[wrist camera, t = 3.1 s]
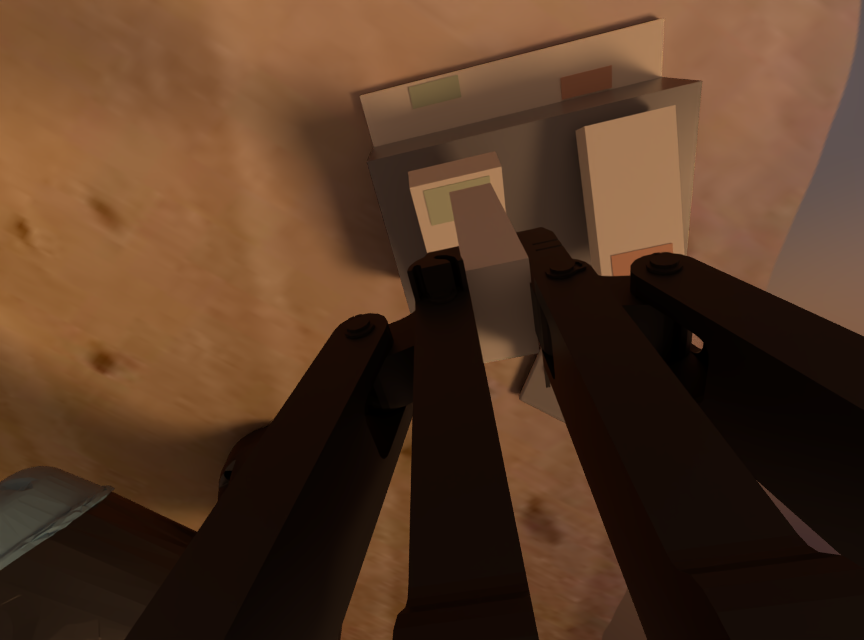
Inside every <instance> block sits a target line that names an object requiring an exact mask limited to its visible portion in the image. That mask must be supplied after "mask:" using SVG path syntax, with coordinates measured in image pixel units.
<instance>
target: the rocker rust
mask: <svg viewBox="0 0 864 640" xmlns="http://www.w3.org/2000/svg"><path fill="white" fill-rule="evenodd" d="M575 132H576V140H577V148H578V157H579V165H580V173H581V181H582V190H583V198H584V206H585V215H586V223H587V231H588V240H589V248H590V256H591V265H592V268H593V269H594V270H595V272H596V273H597V274H598V275H600V276H628V275H630V265H631V264H632V263H633V262H634V261H635V260H636V259H638V258H640V257H642V256H645V255H650V254H653V253H657V252H660V253H662V252H670V253H676V254H682V255H685V254H684V237H683V220H682V204H681V187H680V171H679V154H678V137H677V121H676V105H673V106H669V107H664V108H660V109H656V110H652V111H647V112H643V113H639V114H635V115H631V116H626V117H622V118H618V119H614V120H610V121H605V122H601V123H597V124H593V125H588V126H584V127H582V128H580V129H578V130H576V131H575Z"/></svg>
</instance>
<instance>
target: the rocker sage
mask: <svg viewBox="0 0 864 640" xmlns="http://www.w3.org/2000/svg"><path fill="white" fill-rule="evenodd" d="M408 176H409V187H410V191H411V195H412V199H413V203H414V206H415V210H416V214H417V217H418V221H419V225H420V228H421V232H422V236H423V240H424V243H425V247H426V251H427V253H429V252H433V251H438V250H443V249H447V248H452V247H457V246H459V244H458V238H457V233H456V227H455V222H454V216H453V211H452V206H451V200H450V195H449V192H452V191H456V190H461V189H465V188H469V187H474V186H478V185H483V184H487V183H491V185H492V187H493V189H494V191H495V193H496V195H497V197H498V199H499V200H500V202H501V204H502V206H503V208H504V210H505V212H506V208H505V198H504V187H503V177H502V167H501V164H500V162H499V159H498V157H497V154H496V152H495V151H494V152H489V153H485V154H481V155H477V156H472V157H468V158H464V159H460V160H456V161H451V162H447V163H443V164H439V165H434V166H430V167H426V168H422V169H417V170H413V171H409V172H408Z"/></svg>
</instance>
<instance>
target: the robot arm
mask: <svg viewBox="0 0 864 640" xmlns="http://www.w3.org/2000/svg"><path fill="white" fill-rule="evenodd" d="M449 195H450V200H451V206H452V211H453V216H454V222H455V227H456V233H457V238H458V244H459V246H457V247H452V248H447V249H443V250H438V251H433V252H429V253H427V254H426V256H425V257H423V258H421V259H419V260H417V261H415V262H414V263H413V264H412V265H410V266H409V268H408V270H407V274H408V277H409V281H410V285H411V288H412V292H413V295H414V299H415V311H414V312H413V313H411V314H410V315H408V316H407V317H405V318H403V319H401V320H398V321H396V322H393V323H391V324H388V322H387V320H386V318H385V317H384V316H382V315H380V314H373V313H368V314H363V315H362V314H360V315H356V316H355V317H354V316H353V317H351V318H349V319H348V320H346V321H345V322H343V323H342V324H340V325H339V326H338V327H337V328H336V329H335V330H334V332H333V333H332V335H331V336H330V338H329V339H328V340H327V342H326V343H325V345H324V346H323V348H322V349H321V351H320V352H319V354H318V355H317V357H316V358H315V360H314V361H313V363H312V364H311V365H310V367H309V368H308V370H307V371H306V373H305V374H304V376H303V377H302V379H301V380H300V382H299V383H298V385H297V386H296V388H295V389H294V391H293V392H292V393H291V395H290V396H289V398H288V399H287V401H286V402H285V404H284V405H283V407H282V408H281V410H280V411H279V413H278V414H277V416H276V417H275V418H274V420H273V421H272V423H271V424H270V426H267V427H264V428H261V429H258V430H256V431H254V432H252V433H250V434H248V435H246V436H245V437H244V438H242V439H241V440H240V441H239V442H238V443H237V444H236V445H235V446H234V448H233V449H232V451H231V452H230V454H229V457H228V459H227V461H226V463H225V465H224V467H223V470H222V472H221V476H220V480H219V492H218V502H217V504H216V505H215V507H214V508H213V510H212V511H211V513H210V514H209V516H208V517H207V519H206V520H205V521H204V523H203V524H202V526H201V527H200V529H199V530H198V532H196V531H194V530H192V529H190V528H188V527H186V526H184V525H182V524H179V523H177V522H175V521H173V520H171V519H169V518H167V517H165V516H162V515H160V514H158V513H156V512H154V511H152V510H150V509H148V508H145V507H143V506H141V505H139V504H137V503H135V502H133V501H131V500H128V499H126V498H124V497H122V496H120V495H118V494H116V493H114V492H111V491H113V490H114V488H113V487H111V486H109V485H105V486H100V485H97V484H95V483H92V482H90V481H88V480H85V479H83V478H80V477H78V476H75V475H73V474H70V473H68V472H65V471H63V470H61V469H58V468H54V467H48V466H38V467H31V468H27V469H24V470H21V471H19V472H16V473H14V474H13V475H11V476H9V477H7V478H6V479H4V480H3V481H1V482H0V640H340V639H341V631H342V623H343V620H344V617H345V614H346V611H347V608H348V605H349V603H350V600H351V597H352V594H353V591H354V588H355V585H356V582H357V579H358V576H359V573H360V570H361V567H362V564H363V561H364V558H365V555H366V552H367V549H368V546H369V543H370V540H371V537H372V534H373V532H374V529H375V526H376V523H377V520H378V517H379V514H380V511H381V508H382V505H383V502H384V499H385V496H386V493H387V490H388V487H389V484H390V481H391V478H392V475H393V472H394V469H395V466H396V463H397V460H398V458H399V455H400V452H401V449H402V446H403V443H404V440H405V437H406V434H407V431H408V428H409V425H410V422H411V419H412V416H413V419H412V460H411V502H410V543H409V585H408V600H407V604H406V607H405V608H404V609H403V610H402V611H401V612H400V613H399V614H398V615H397V619H396V622H395V626H394V630H393V640H539V637H538V632H537V627H536V622H535V617H534V612H533V607H532V602H531V597H530V592H529V587H528V582H527V577H526V572H525V567H524V562H523V557H522V552H521V547H520V542H519V537H518V532H517V527H516V522H515V517H514V512H513V507H512V502H511V497H510V492H509V487H508V482H507V477H506V472H505V467H504V462H503V457H502V452H501V447H500V442H499V437H498V432H497V427H496V422H495V417H494V412H493V407H492V402H491V397H490V392H489V387H488V382H487V377H486V372H485V367H484V363H488V362H494V361H499V360H505V359H510V358H515V357H521V356H526V355H531V354H537V353H539V344H538V340H539V342H540V345H541V347H542V356H543V365H544V374H545V383H546V388H549V387H550V383H551V386H552V389H553V391H554V394H555V397H556V399H557V402H558V405H559V407H560V410H561V412H562V415H563V418H564V420H565V423H566V426H567V428H568V431H569V434H570V436H571V439H572V442H573V444H574V447H575V450H576V452H577V455H578V457H579V460H580V463H581V465H582V468H583V471H584V473H585V476H586V479H587V481H588V484H589V487H590V489H591V492H592V494H593V497H594V500H595V502H596V505H597V508H598V510H599V513H600V516H601V518H602V521H603V524H604V526H605V529H606V532H607V534H608V537H609V539H610V542H611V545H612V547H613V550H614V553H615V555H616V558H617V561H618V563H619V566H620V569H621V571H622V574H623V577H624V579H625V582H626V584H627V587H628V590H629V592H630V595H631V598H632V600H633V603H634V606H635V608H636V611H637V613H638V616H639V619H640V621H641V624H642V626H643V629H644V632H645V634H646V637H647V640H864V336H862V335H860V334H857V333H855V332H853V331H850V330H848V329H846V328H844V327H842V326H840V325H837V324H836V323H833V322H831V321H829V320H827V319H825V318H822V317H820V316H818V315H816V314H814V313H812V312H809V311H807V310H805V309H803V308H801V307H798V306H796V305H794V304H792V303H790V302H788V301H785V300H783V299H781V298H779V297H777V296H774V295H772V294H770V293H768V292H766V291H764V290H761V289H759V288H757V287H755V286H753V285H750V284H748V283H746V282H744V281H742V280H740V279H737V278H735V277H733V276H731V275H729V274H726V273H724V272H722V271H720V270H718V269H716V268H713V267H711V266H709V265H707V264H705V263H702V262H700V261H698V260H696V259H694V258H692V257H689V256H685V255H682V254H676V253H670V252H662V253H660V252H657V253H653V254H650V255H645V256H642V257H640V258H638V259H636V260H635V261H634V262H633V263H632V264H631V265H630V275H628V276H600V275H598V274H597V273H596V272H595V270H594V269H593V268H592V266H591V265H589V264H588V263H587V262H585V261H581V260H578V259H572V258H571V256H570V255H569V253H568V252H567V251H566V249H565V248H564V246H562V244H561V242H560V241H559V240H558V238H557V237H556V235H555V234H554V232H553V231H550V230H548V229H545V228H543V227H539V228H534V229H530V230H525V231H520V232H515V230H514V228H513V226H512V224H511V222H510V220H509V218H508V216H507V214H506V212H505V210H504V208H503V206H502V204H501V202H500V200H499V199H498V197H497V195H496V193H495V191H494V189H493V187H492V185H491V183H487V184H483V185H478V186H474V187H469V188H465V189H461V190H456V191H452V192H449ZM692 333H694V334H695V335H697V336H698V337H699V338H700V339H701V340H702V341H703V348H702V349H700V348H698V347H696V346H695V345H693V344H692V343H691V342H692ZM756 480H757V481H758V482H759V483H761V484H762V485H763V486H764V487H765V488H766V489H767V490H769V492H771V493H772V494H773V495H774V496H775V497H776V498H777V499H778V500H780V501H781V502H782V503H783V504H784V505H785V506H786V507H787V508H789V509H790V510H791V511H792V512H793V513H794V514H795V515H797V516H798V517H799V518H800V519H801V520H802V521H803V522H805V523H806V524H807V525H808V526H809V527H810V528H811V529H812V530H813V531H815V532H816V533H817V534H818V535H819V536H820V537H821V538H823V539H824V540H825V541H826V542H827V543H828V544H829V545H830V546H832V547H833V548H834V549H835V550H836V551H837V552H838V553H839V554H841V555H835V554H828V553H821V552H818V551H816V550H815V549H813V548H812V547H810V546H808V545H807V544H806V542H805V541H804V540H803V539H802V538H801V537H800V536H799V535H798V534H797V533H796V531H795V530H794V529H793V527H792V526H791V525H790V524H789V522H788V521H787V520H786V518H785V517H784V516H783V514H782V513H781V512H780V510H779V509H778V508H777V507H776V506H775V504H774V503H773V501H772V500H771V499H770V497H769V496H768V495H767V494H766V492H765V491H764V490H763V488H762V487H761V486H760V485H759V483H758V482H757V481H756Z"/></svg>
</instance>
